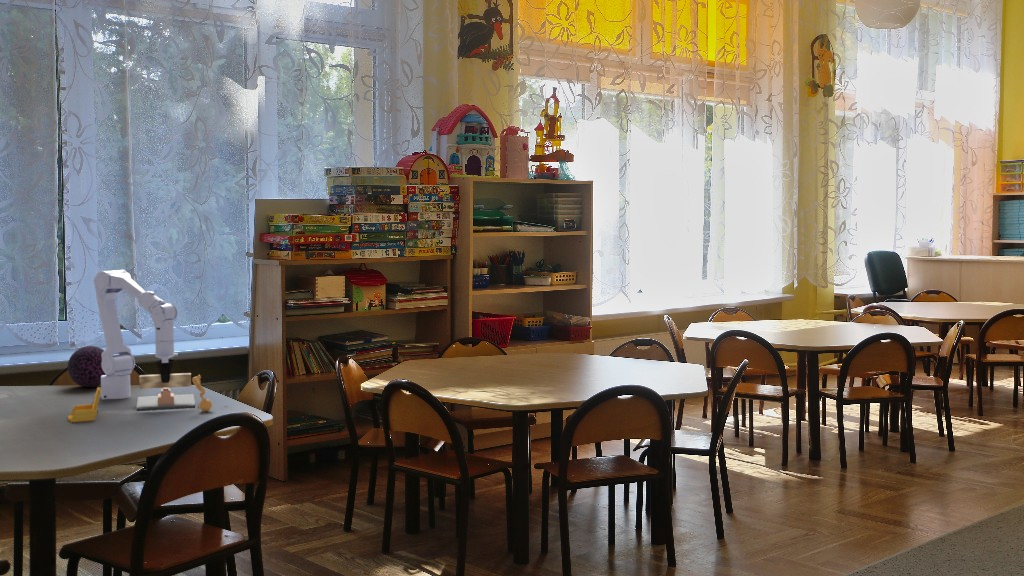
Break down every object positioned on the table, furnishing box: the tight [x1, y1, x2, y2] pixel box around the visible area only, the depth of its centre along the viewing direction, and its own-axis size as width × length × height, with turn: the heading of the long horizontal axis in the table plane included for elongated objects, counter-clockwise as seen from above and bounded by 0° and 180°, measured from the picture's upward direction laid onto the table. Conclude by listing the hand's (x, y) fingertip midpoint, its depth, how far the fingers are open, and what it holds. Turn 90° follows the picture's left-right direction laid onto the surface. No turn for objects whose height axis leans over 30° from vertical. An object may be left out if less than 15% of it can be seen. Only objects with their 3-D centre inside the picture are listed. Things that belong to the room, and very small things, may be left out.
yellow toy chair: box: [67, 386, 101, 423], centre depth 316 cm, size 10×10×9 cm
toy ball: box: [67, 345, 105, 388], centre depth 371 cm, size 15×15×15 cm
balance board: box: [135, 387, 196, 412], centre depth 339 cm, size 18×20×6 cm
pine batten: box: [138, 372, 192, 390], centre depth 336 cm, size 16×3×4 cm, turn 109°
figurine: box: [191, 374, 213, 413], centre depth 326 cm, size 8×6×12 cm
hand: (165, 381), depth 336 cm, fingers closed on pine batten, 3 cm apart
